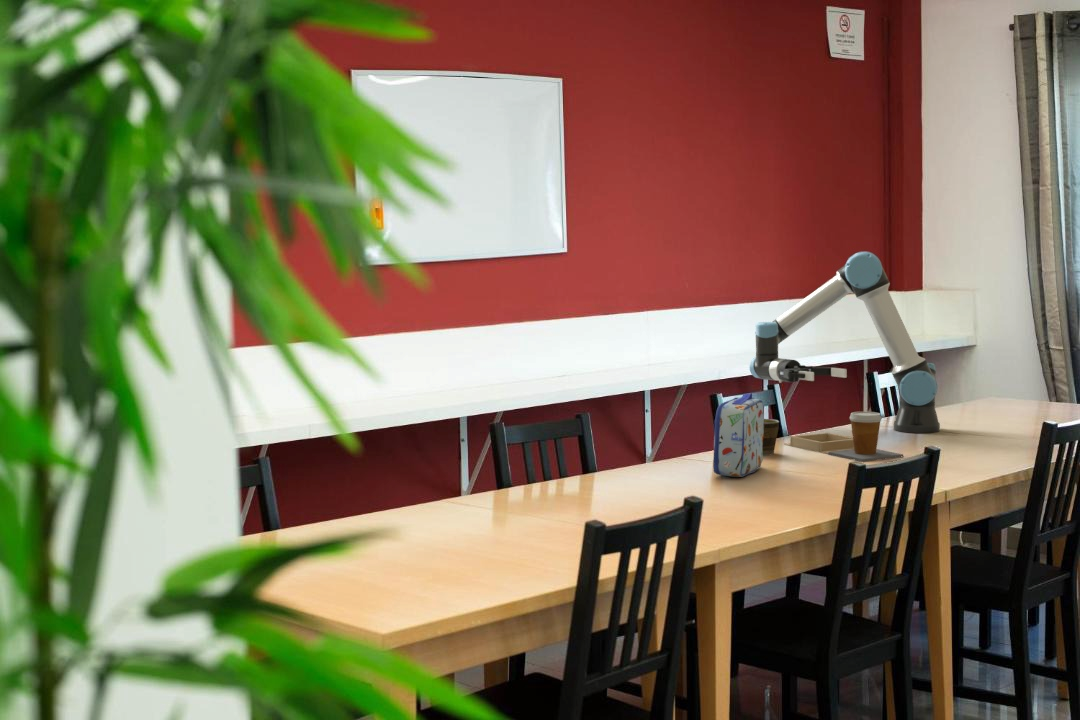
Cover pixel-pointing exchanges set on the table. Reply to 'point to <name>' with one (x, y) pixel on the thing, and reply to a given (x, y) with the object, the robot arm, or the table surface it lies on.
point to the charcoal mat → (861, 457)
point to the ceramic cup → (769, 436)
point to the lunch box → (738, 436)
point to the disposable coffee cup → (865, 431)
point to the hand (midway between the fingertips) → (829, 375)
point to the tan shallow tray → (822, 442)
